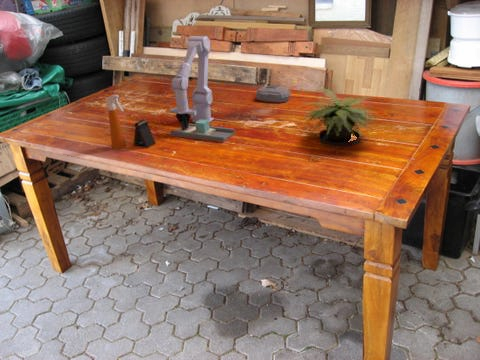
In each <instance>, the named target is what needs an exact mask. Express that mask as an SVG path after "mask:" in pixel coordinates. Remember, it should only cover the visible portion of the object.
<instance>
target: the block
mask: <svg viewBox="0 0 480 360" xmlns="http://www.w3.org/2000/svg"><path fill="white" fill-rule="evenodd" d="M194 124H195V126H196V132H198V133H206V132H207V131H209V130H210V122H209V120H201V119H200V120H199V121H197V122H194Z"/></svg>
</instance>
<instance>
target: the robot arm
mask: <svg viewBox="0 0 480 360" xmlns="http://www.w3.org/2000/svg"><path fill="white" fill-rule="evenodd" d="M186 45H187V50H186V54H185V56H184V60H183V63H180V66H179V67H178V70H177V73H176V76H174V78H172V80H171V84H170V86H171V88H172V90H173V93H174V96H175V105H176V107H175V108H174V107H173V108H172V107H171V108H169V113H170V114H175V118H176V119H177V121H178V122H179V125H180V126H181V121H183V120H184V125H185V128H188V126H189V124H190V120H191V117H192V123H196V122H197V121H199V120H200V119H201V120H209V123H210V122H212V121H213V120H214V119H215V118H214V117H212V115H211V104H212V103H213V94H212V93H213V91H212V90H211V89H210V88H209V87H208V80H209V79H208V78H209V77H208V76H209V74H208V73H209V58H210V57H209V56H210V55H209V54H210V50H211V40H210V39H209V37H208V36H205V35H204V36H198V35H195V36H194V35H190V36H189V37H188V39H187V42H186ZM196 55H197V56H198V57H197V82H196V83H197V85H196V87H195V88H194V89H193V91H192V95H191V100H192V103H193V105H192V107H191V108H189V101H188V95H187V94H188V93H187V92H188V91H187V89H188V86H189V76H190V74H191V71H192V67H191V65H192V63H193V62H194V60H195V58H196Z"/></svg>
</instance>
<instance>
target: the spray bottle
mask: <svg viewBox="0 0 480 360" xmlns="http://www.w3.org/2000/svg"><path fill="white" fill-rule="evenodd" d="M119 97H120V96H119V94H112V95H110V96H107V97H106V98H105V99H104V101H105V102H106V103H107V111H108V121H109V129H110V130H109V131H110V132H109V133H110V140H111V147H112V149H114V150H121V149H124V148H126V147H127V145H128V144H127V141H126V137H125V134H124V131H123V128H122V123H121V119H120V117H119V114H118V111H117V108H118V109H119V110H120V111H121V112H124V109H123V107H122V105H120V102H119V99H118V98H119Z"/></svg>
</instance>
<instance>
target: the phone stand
mask: <svg viewBox="0 0 480 360" xmlns="http://www.w3.org/2000/svg"><path fill="white" fill-rule="evenodd" d="M134 129H135V130H134V138H133V146H135V147H140V148H143V149H144V148H145V149H149V148H151V147H152V146H154V145H156V140H155V138H154V135H153V133H152V131H151V129H150V126H149V122H148V120H147V118H146V119H142V120H139V121H137V122H135V123H134Z"/></svg>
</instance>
